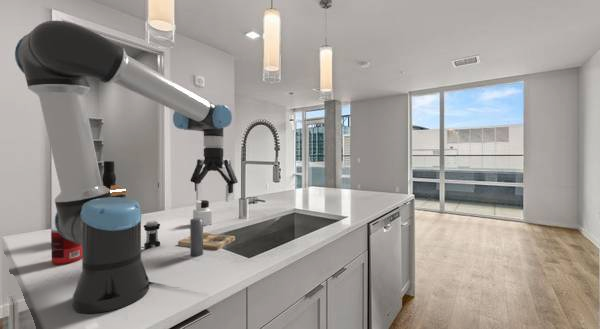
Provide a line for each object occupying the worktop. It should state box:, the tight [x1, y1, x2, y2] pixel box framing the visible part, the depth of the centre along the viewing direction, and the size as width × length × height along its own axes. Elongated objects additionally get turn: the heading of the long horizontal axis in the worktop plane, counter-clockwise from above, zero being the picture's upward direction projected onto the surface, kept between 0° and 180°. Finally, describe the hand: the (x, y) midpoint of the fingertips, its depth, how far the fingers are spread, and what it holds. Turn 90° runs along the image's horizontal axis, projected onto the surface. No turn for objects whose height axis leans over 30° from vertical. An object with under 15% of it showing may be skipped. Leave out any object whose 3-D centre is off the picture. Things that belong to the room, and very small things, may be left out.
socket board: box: [177, 232, 236, 251], centre depth 102 cm, size 12×17×3 cm
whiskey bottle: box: [101, 160, 127, 198], centre depth 112 cm, size 10×10×32 cm
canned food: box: [50, 227, 82, 266], centre depth 86 cm, size 8×8×11 cm
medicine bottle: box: [192, 199, 213, 227], centre depth 134 cm, size 7×7×12 cm
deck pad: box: [178, 249, 214, 261], centre depth 89 cm, size 8×8×1 cm
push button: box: [141, 220, 161, 252], centre depth 96 cm, size 7×5×10 cm
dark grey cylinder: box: [189, 218, 204, 257], centre depth 89 cm, size 4×4×12 cm
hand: (213, 200), depth 106 cm, fingers open, 13 cm apart
